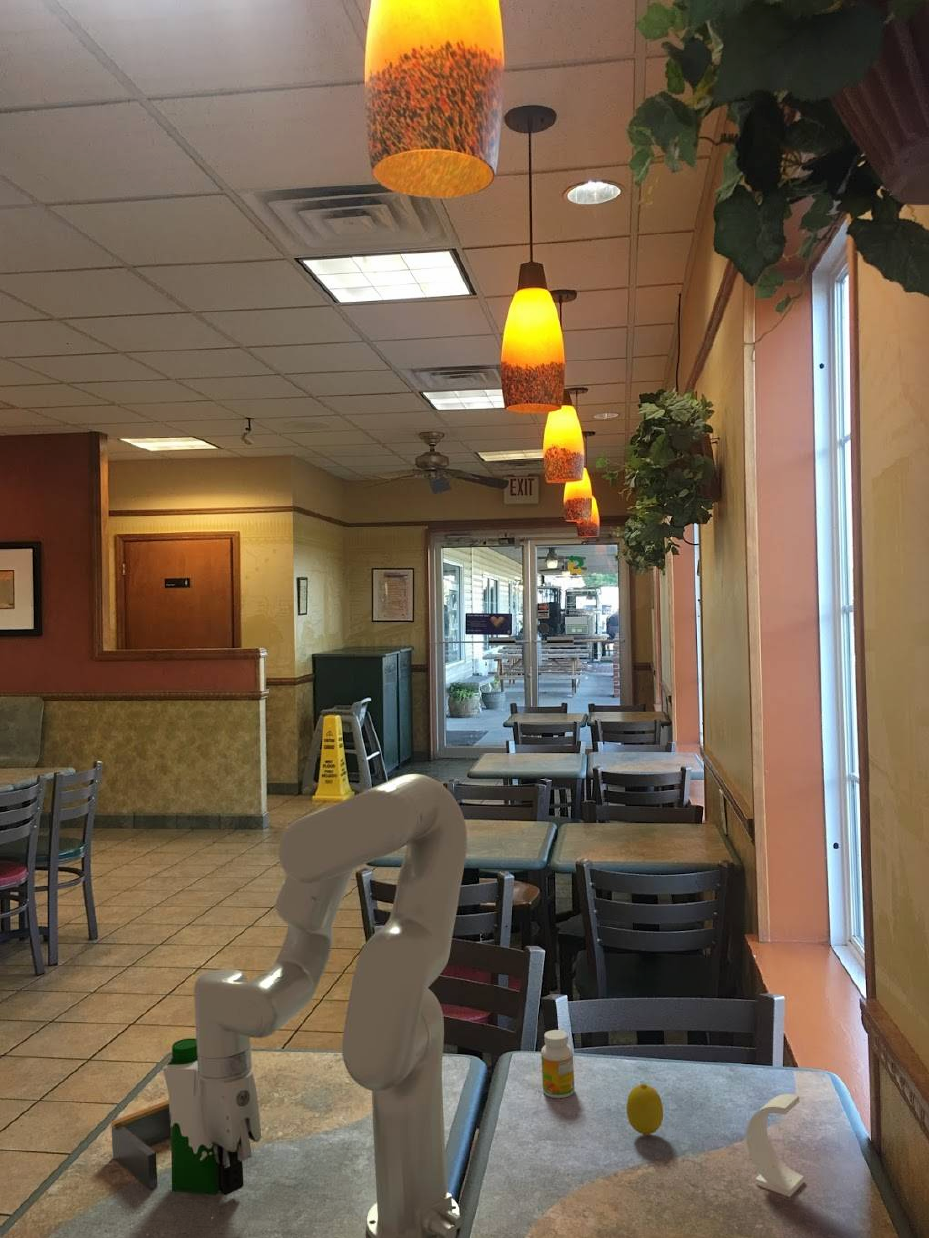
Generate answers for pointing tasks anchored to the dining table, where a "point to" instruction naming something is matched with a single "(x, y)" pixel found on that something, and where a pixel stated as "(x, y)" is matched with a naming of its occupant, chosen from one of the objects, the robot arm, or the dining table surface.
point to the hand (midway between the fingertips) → (230, 1189)
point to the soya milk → (188, 1124)
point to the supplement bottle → (557, 1065)
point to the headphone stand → (771, 1149)
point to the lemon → (644, 1109)
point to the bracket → (141, 1141)
